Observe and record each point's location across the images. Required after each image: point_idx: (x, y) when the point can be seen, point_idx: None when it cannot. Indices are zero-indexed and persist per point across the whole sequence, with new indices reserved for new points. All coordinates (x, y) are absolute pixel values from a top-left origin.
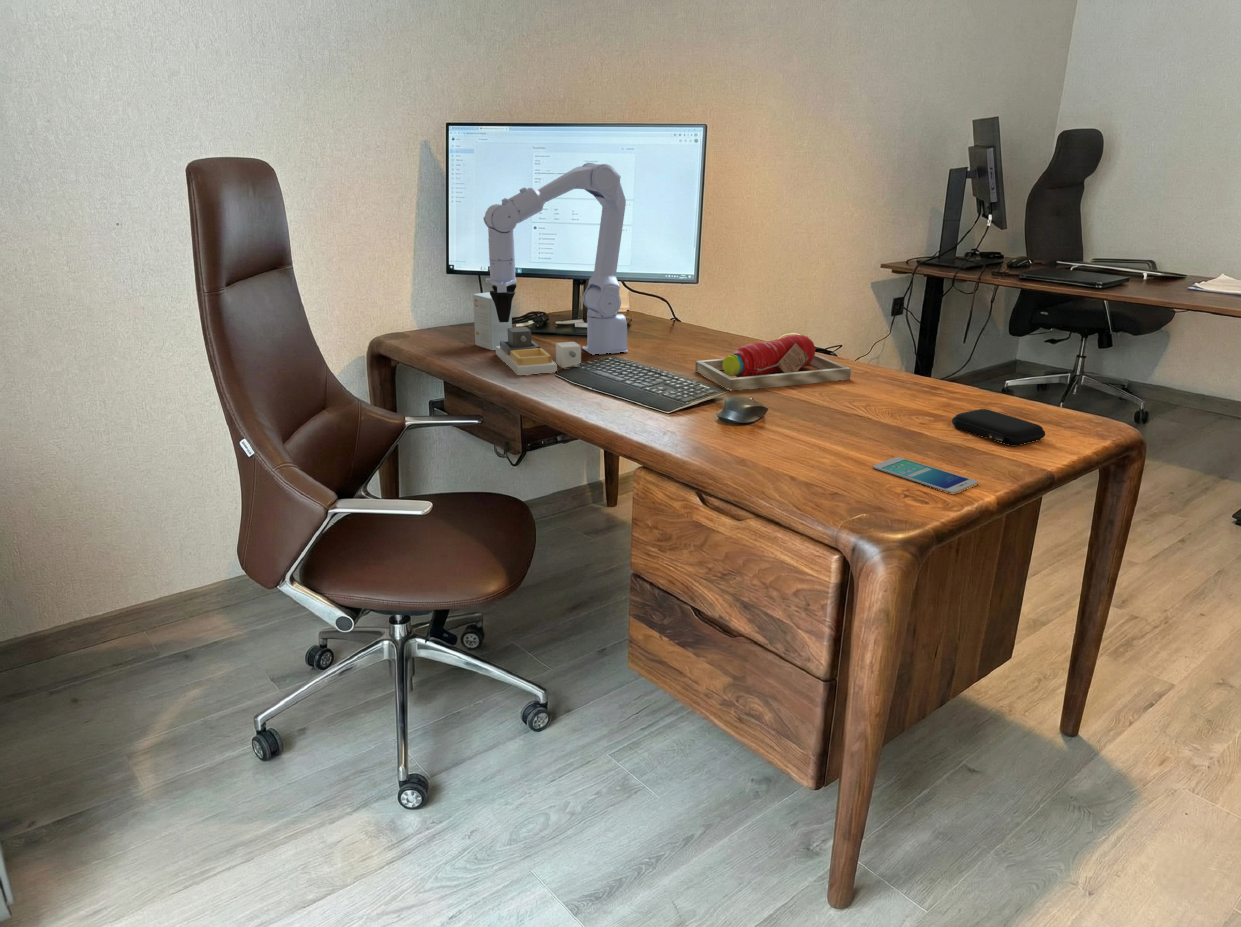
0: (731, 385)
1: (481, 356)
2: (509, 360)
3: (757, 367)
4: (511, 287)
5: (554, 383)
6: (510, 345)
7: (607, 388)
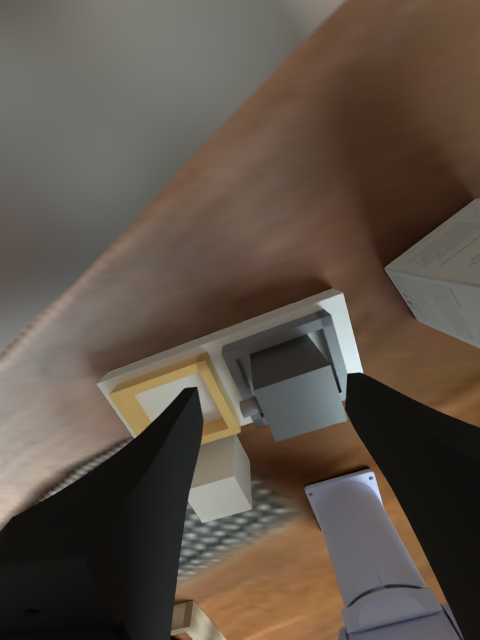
0: None
1: (311, 248)
2: (178, 352)
3: None
4: (477, 632)
5: (70, 441)
6: (281, 351)
7: None
